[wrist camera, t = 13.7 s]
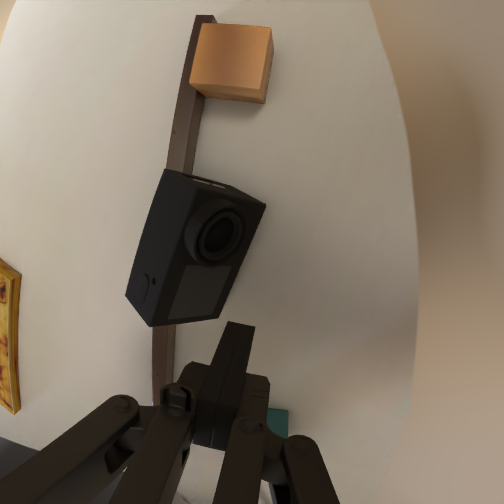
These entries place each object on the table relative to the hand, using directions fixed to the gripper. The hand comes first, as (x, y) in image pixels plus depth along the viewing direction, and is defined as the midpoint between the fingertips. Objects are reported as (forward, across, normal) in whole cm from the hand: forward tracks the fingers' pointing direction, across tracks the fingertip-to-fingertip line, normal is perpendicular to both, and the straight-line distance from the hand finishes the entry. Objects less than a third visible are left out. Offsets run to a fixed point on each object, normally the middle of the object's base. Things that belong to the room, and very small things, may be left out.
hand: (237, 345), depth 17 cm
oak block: (+11, -4, +17) cm, 21 cm away
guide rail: (+11, -8, +1) cm, 14 cm away
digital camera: (+10, -2, +2) cm, 10 cm away
